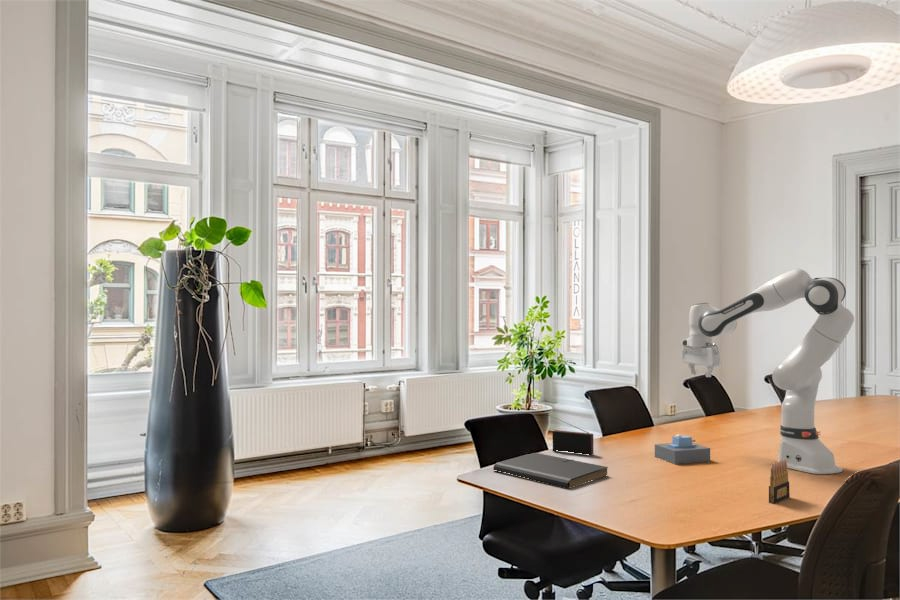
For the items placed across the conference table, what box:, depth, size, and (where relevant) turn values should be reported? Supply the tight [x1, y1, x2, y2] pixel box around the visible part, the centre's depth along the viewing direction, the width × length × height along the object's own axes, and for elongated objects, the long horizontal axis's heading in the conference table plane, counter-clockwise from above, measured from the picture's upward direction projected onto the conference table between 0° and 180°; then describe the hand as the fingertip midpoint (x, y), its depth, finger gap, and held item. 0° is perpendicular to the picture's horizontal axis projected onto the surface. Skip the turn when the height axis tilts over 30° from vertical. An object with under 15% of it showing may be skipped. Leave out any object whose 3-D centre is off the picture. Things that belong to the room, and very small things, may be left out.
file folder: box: [493, 452, 609, 489], centre depth 239 cm, size 33×4×24 cm
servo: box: [668, 434, 697, 448], centre depth 261 cm, size 4×12×9 cm, turn 107°
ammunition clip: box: [768, 459, 791, 505], centre depth 205 cm, size 11×2×12 cm, turn 131°
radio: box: [548, 414, 595, 456], centre depth 273 cm, size 19×3×15 cm, turn 59°
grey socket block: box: [654, 442, 711, 465], centre depth 261 cm, size 13×16×5 cm
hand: (700, 375), depth 274 cm, fingers open, 8 cm apart
